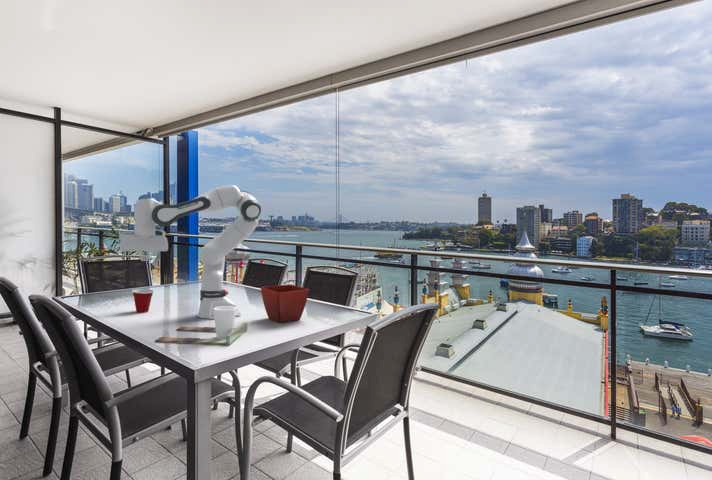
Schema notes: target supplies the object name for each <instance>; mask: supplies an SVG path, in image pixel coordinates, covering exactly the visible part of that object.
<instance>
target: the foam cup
mask: <svg viewBox="0 0 712 480" xmlns="http://www.w3.org/2000/svg"><path fill="white" fill-rule="evenodd" d="M235 314H236V307H234V306H219V307H215V308H214V318H215V319H214V324H215V325H214V326H215V327H216V332H215V335H216V339H226V336H227V335H228V334H229V333H231V332H232V331H233V328H235V321H236V320H235V319H236V317H235Z"/></svg>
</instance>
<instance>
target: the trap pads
mask: <svg viewBox="0 0 712 480" xmlns="http://www.w3.org/2000/svg"><path fill="white" fill-rule="evenodd" d="M202 327H203V328H202V329H200V330H214V329H216V327H214V326H213V327H212V326H202ZM184 338H185V339H183V340H182V341H186V342H196V341H197V340H199V339H201V337H184Z"/></svg>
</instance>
